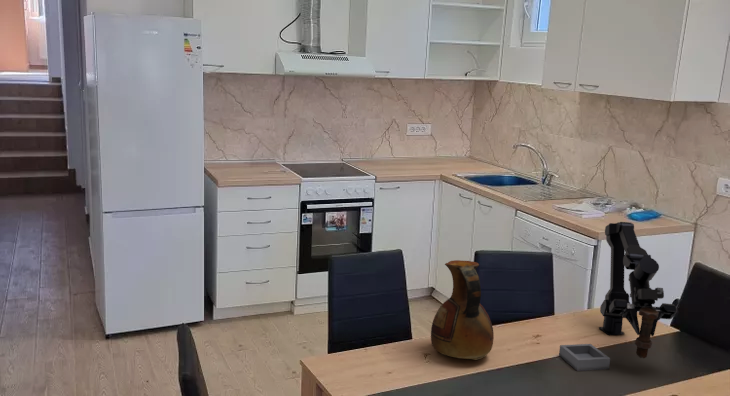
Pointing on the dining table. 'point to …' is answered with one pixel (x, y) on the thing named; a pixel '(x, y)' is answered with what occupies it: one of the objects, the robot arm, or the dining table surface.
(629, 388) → the dining table surface
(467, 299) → the ceramic pitcher
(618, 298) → the robot arm
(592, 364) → the socket block
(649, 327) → the bolt
